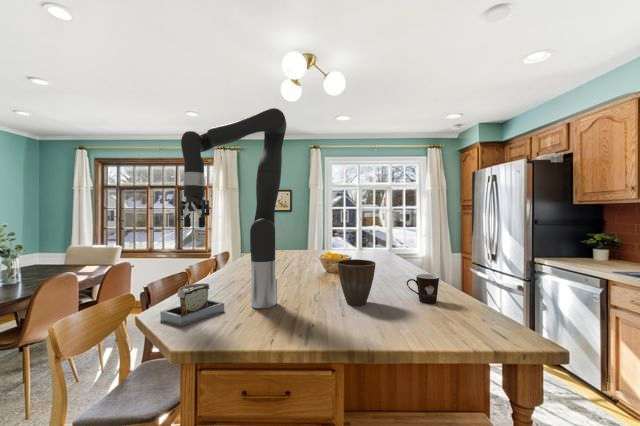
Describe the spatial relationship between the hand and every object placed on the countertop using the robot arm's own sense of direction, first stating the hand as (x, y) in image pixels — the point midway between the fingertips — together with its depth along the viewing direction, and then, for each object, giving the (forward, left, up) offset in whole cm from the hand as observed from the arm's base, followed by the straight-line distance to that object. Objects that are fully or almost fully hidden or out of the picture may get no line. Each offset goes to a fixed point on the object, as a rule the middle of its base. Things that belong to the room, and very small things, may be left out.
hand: (194, 227), depth 113 cm
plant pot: (-34, +52, -30) cm, 69 cm away
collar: (+7, +9, -30) cm, 32 cm away
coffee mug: (-50, +74, -30) cm, 94 cm away
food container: (+7, +8, -30) cm, 32 cm away
